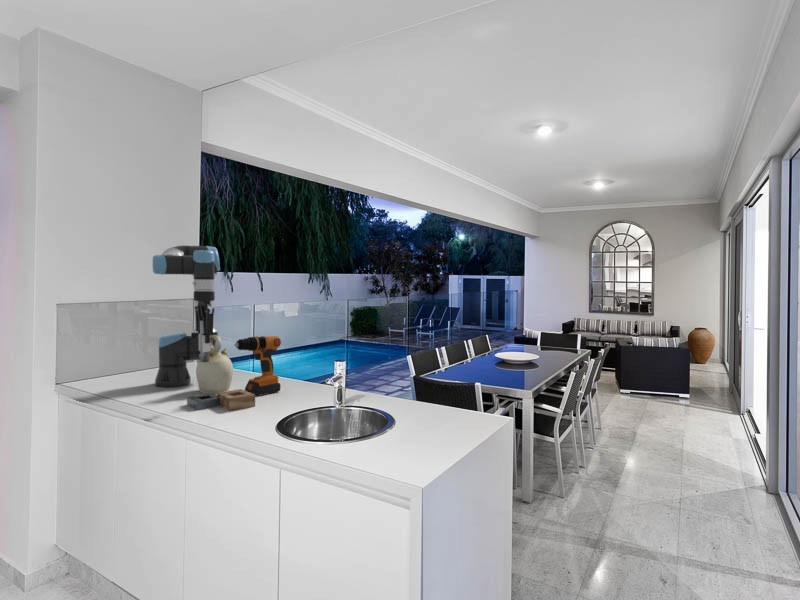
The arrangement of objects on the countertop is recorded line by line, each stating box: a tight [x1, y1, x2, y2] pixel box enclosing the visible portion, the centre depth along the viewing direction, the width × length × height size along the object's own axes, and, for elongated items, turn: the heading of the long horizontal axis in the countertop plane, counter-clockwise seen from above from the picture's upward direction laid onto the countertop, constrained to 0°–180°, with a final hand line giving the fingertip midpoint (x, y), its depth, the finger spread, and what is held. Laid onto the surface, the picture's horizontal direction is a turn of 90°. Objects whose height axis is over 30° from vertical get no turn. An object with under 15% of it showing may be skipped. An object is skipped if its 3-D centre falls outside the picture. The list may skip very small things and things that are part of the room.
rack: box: [216, 388, 256, 412], centre depth 190 cm, size 12×10×5 cm
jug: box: [195, 335, 234, 394], centre depth 214 cm, size 15×16×25 cm
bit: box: [200, 320, 209, 362], centre depth 189 cm, size 3×3×16 cm
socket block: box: [186, 393, 221, 411], centre depth 190 cm, size 10×10×4 cm
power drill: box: [233, 335, 282, 397], centre depth 210 cm, size 22×7×25 cm, turn 138°
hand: (204, 350), depth 189 cm, fingers closed on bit, 3 cm apart
